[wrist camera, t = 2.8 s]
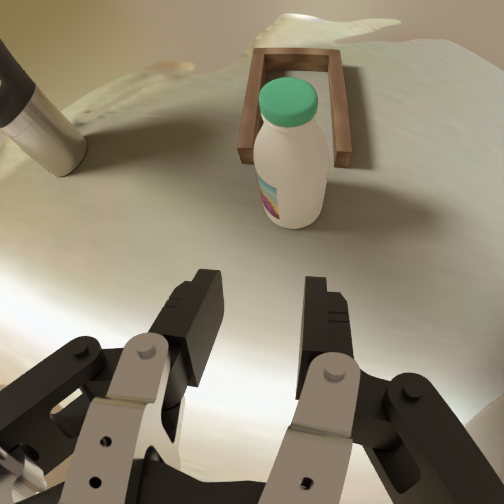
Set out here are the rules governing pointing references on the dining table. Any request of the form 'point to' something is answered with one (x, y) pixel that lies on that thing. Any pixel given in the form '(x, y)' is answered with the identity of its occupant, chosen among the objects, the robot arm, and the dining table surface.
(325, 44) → the dining table surface
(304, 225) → the milk bottle
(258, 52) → the walnut U-rest
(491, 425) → the pot
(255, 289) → the dining table surface
